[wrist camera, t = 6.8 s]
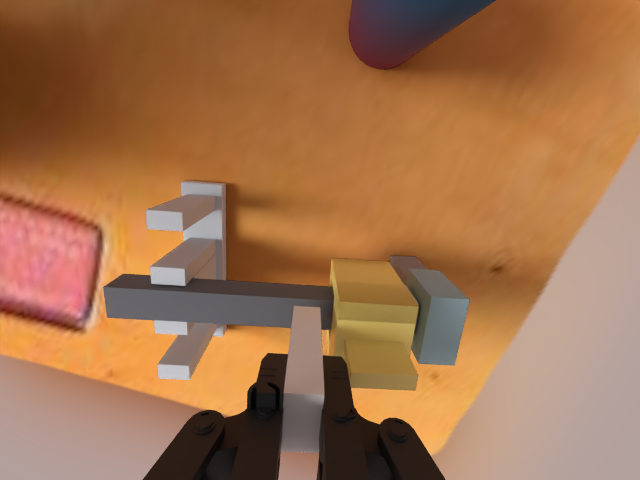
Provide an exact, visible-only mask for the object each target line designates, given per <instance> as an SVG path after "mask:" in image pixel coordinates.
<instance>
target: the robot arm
mask: <svg viewBox="0 0 640 480" xmlns="http://www.w3.org/2000/svg"><path fill="white" fill-rule="evenodd" d="M281 451H285V452H308V453H319V463H318V473H317V480H445V478H444V476H443V475H442V473H441V472H440V471H439V469H438V467H437V465H436V464H435V462H434V461H433V459H432V457H431V456H430V454H429V453H428V451H427V449H426V448H425V446H424V445H423V443H422V442H421V440H420V438H419V437H418V435H417V434H416V432H415V430H414V429H413V428H412V427H411V426H410V425H409V424H408V423H406V422H405V421H403V420H401V419H398V418H388V419H385V420H383V421H382V423H381V424H377V423H374V422H371V421H368V420H366V419H364V418H363V417H361V416H360V415H359V414H358V413H357V410H356V409H355V408H354V405H353V399H352V392H351V386H350V380H349V374H348V367H347V363H346V362H345V361H344V359H343V358H342V356H324V355H323V353H322V333H321V312H320V307H304V306H294V309H293V318H292V326H291V335H290V343H289V351H288V354H275V353H268V354H267V355H266V356H265V357H264V358H263V359H262V361H261V366H260V370H259V374H258V378H257V382H256V383H254V384H253V385H252V386H251V387H250V388H249V390H248V394H247V409H246V410H245V411H244V412H242V413H240V414H238V415H235V416H231V417H227V418H224V417H223V416H222V414H221V413H219V412H217V411H215V410H206V411H201V412H199V413H197V414H195V415H193V416H192V417H191V418H190V419H189V420H188V421H187V423H186V424H185V425H184V426H183V428H182V429H181V430H180V432H179V433H178V434H177V436H176V437H175V438H174V440H173V441H172V442H171V443H170V445H169V446H168V447H167V449H166V450H165V451H164V453H163V454H162V455H161V457H160V458H159V459H158V460H157V462H156V463H155V464H154V466H153V467H152V468H151V469H150V471H149V472H148V474H147V475H146V476H145V477H144V479H143V480H278V476H279V466H280V452H281Z"/></svg>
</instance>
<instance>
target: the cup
mask: <svg viewBox="0 0 640 480" xmlns="http://www.w3.org/2000/svg"><path fill="white" fill-rule="evenodd" d="M494 1H496V0H352V6H351V13H350V21H349V38H350V42H351V45H352V48H353V50H354V52H355V54H356V55H357V56H358V57H359V59H360V60H361V61H363V62H364V63H365V64H367V65H369V66H371V67H373V68H377V69H388V68H393V67H395V66H397V65H399V64H401V63H402V62H404V61H405V60H407V59H408V58H410V57H411V56H413V55H414V54H416V53H417V52H419V51H420V50H422V49H423V48H425V47H426V46H428V45H429V44H431V43H432V42H434V41H435V40H437V39H438V38H440V37H441V36H443V35H444V34H446V33H447V32H449V31H450V30H452V29H453V28H455V27H456V26H458V25H459V24H461V23H462V22H464V21H465V20H467V19H468V18H470V17H472V16H473V15H475V14H476V13H478V12H479V11H481V10H482V9H484V8H485V7H487V6H488V5H490V4H491V3H493V2H494Z"/></svg>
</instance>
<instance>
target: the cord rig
mask: <svg viewBox="0 0 640 480" xmlns="http://www.w3.org/2000/svg"><path fill="white" fill-rule="evenodd" d="M146 221H147V229H155V230H170V231H183V241H184V242H183V243H181V244H180V245H179V246H177V247H176V248H175V249H173V250H172V251H171V252H169V253H168V254H167V255H165V256H164V257H162V258H161V259H160V260H158V261H157V262H156V263H154V264H153V265H152V266H150V273H151V276H150V275H134V274H122V275H121V276H119V277H118V278H116V279H115V280H113V281H112V282H110V283H109V284H107V285H106V286H104V287H103V288H104V296H105V304H106V312H107V318H123V319H141V320H154V324H155V333H157V334H175V335H178V336H177V338H176V339H175V341H174V342H173V343H172V345H171V346H170V348H169V349H168V350H167V352H166V353H165V355H164V356H163V357H162V359H161V360H160V362H159V363H158V376H159V379H180V380H190V378H191V376H192V374H193V372H194V370H195V369H196V367H197V365H198V363H199V361H200V359H201V357H202V355H203V353H204V351H205V350H206V348H207V346H208V344H209V342H210V340H211V338H212V336H221V337H223V336H224V334H225V331H226V329H227V324H231V325H248V326H266V327H284V328H291V326H292V318H293V309H294V306H304V307H320V312H321V330H331V326H332V316H333V306H334V291H333V287H328V286H311V285H295V284H279V283H263V282H247V281H231V280H226V183H215V182H202V181H189V180H186V181H183V182H181V197H179V198H176V199H173V200H171V201H168V202H165V203H163V204H160V205H157V206H155V207H152V208H149V209H147V210H146ZM390 264H391V266H392V267H393V269H394V270H395V272H396V273H397V275H398V276H399V278H400V279H401V281H402V282H403V284H404V285H405V287H406V288H407V290H408V291H409V293H410V294H411V296H412V297H413V299H414V300H415V302H416V303H417V305H418V306H419V309H418V314H417V319H416V325H415V330H414V336H413V341H412V346H411V349H412V351H413V353H414V355H415V357H416V359H417V361H418V363H419V364H435V365H455V361H456V357H457V352H458V348H459V344H460V340H461V335H462V331H463V327H464V323H465V318H466V314H467V310H468V305H469V301H470V299H469V298H468V297H467V296H466V295H465V294H464V293H462V292H461V291H460V290H459V289H458V288H457V287H456V286H455V285H454V284H453V283H452V282H451V281H450V280H449V279H448V278H447V277H446V276H445V275H444V274H443V273H442V272H441V271H440V270H428V269H427V268H426V267H425V266H424V265H423V264H422V263H421V262H420V260H419V259H418V258H417V257H410V256H395V255H391V256H390Z"/></svg>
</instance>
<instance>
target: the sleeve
mask: <svg viewBox="0 0 640 480" xmlns="http://www.w3.org/2000/svg"><path fill="white" fill-rule="evenodd" d="M329 287H333V291H334V306H333V316H332V326H331V330H326V331H327V344H328V356H342V358H343V359H344V361H345V362H346V363H347V367H348V374H349V380H350V386H351V388H370V389H391V390H412V391H415V390H416V385H417V380H418V374H417V372H416V370H415V368H414V366H413V363H412V361H411V359H410V352H411V346H412V341H413V336H414V330H415V325H416V319H417V314H418V309H419V306H418V305H417V303H416V302H415V300H414V299H413V297H412V296H411V294H410V293H409V291H408V290H407V288H406V287H405V285H404V284H403V282H402V281H401V279H400V278H399V276H398V275H397V273H396V272H395V270H394V269H393V267H392V266H391V264H390V263H389V262H388V261H373V260H358V259H343V258H332V260H331V271H330V282H329Z"/></svg>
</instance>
